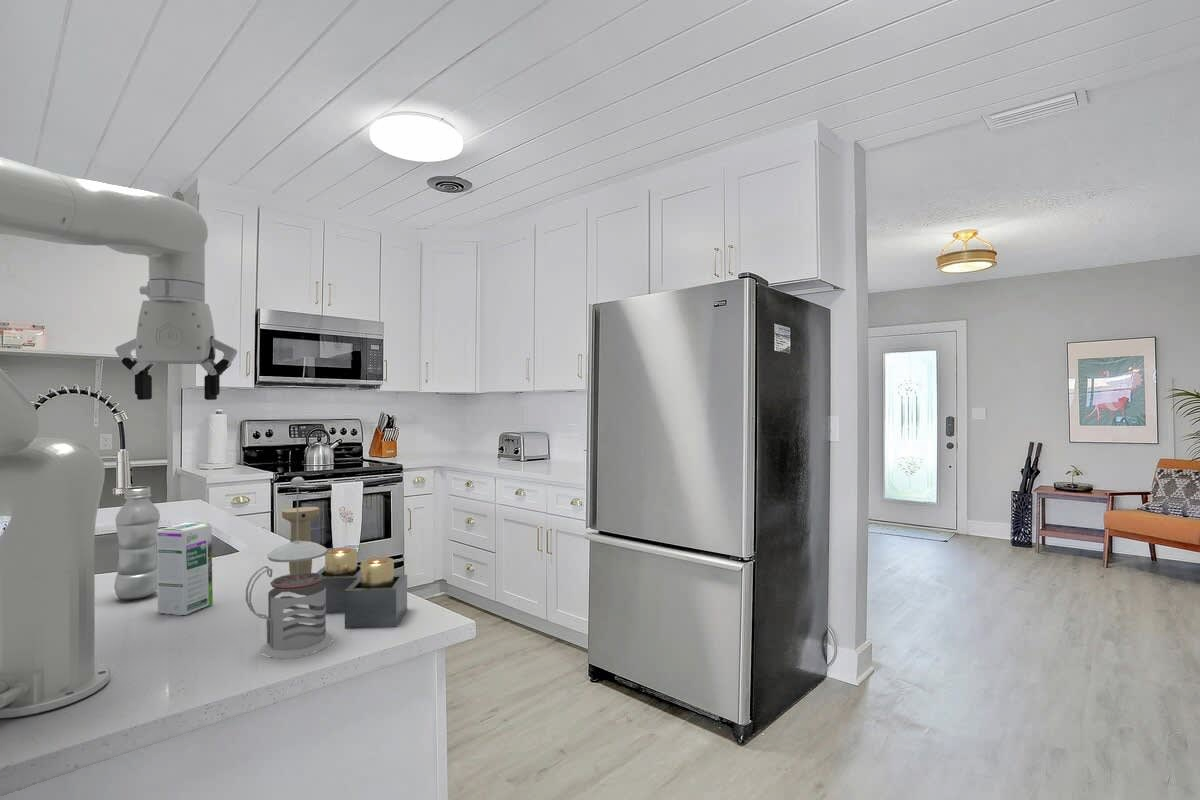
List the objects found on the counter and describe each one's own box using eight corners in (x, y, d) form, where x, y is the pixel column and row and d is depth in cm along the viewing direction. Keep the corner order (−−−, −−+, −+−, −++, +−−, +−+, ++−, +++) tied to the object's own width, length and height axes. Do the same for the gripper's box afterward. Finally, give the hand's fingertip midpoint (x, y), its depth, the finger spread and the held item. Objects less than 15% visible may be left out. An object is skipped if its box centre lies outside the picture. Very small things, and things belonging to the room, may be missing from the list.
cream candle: (351, 586, 106) (352, 553, 106) (320, 587, 105) (320, 554, 105) (360, 577, 111) (360, 546, 111) (330, 578, 111) (331, 546, 111)
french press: (343, 644, 91) (344, 477, 91) (257, 669, 83) (257, 484, 83) (319, 626, 98) (319, 471, 98) (237, 647, 90) (237, 477, 90)
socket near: (396, 626, 98) (396, 589, 98) (344, 628, 98) (344, 590, 98) (407, 609, 106) (407, 574, 106) (359, 610, 106) (359, 575, 106)
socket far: (357, 612, 105) (357, 577, 105) (309, 613, 104) (309, 578, 104) (370, 597, 113) (370, 564, 113) (325, 598, 112) (325, 565, 112)
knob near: (389, 599, 100) (389, 563, 100) (356, 600, 99) (356, 564, 99) (396, 589, 105) (397, 555, 105) (365, 589, 104) (365, 556, 104)
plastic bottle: (105, 601, 109) (105, 489, 109) (143, 590, 116) (143, 484, 116) (131, 605, 107) (131, 491, 107) (168, 593, 114) (168, 486, 114)
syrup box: (185, 616, 102) (185, 529, 102) (155, 613, 104) (155, 528, 103) (213, 605, 108) (213, 522, 108) (184, 602, 109) (185, 521, 109)
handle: (279, 587, 118) (279, 509, 118) (315, 581, 122) (315, 505, 122) (284, 593, 114) (284, 513, 114) (321, 587, 118) (321, 509, 118)
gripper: (103, 288, 94) (104, 400, 95) (227, 293, 98) (227, 400, 98) (129, 296, 102) (130, 399, 102) (244, 299, 105) (244, 399, 106)
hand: (178, 399), depth 100 cm, fingers open, 9 cm apart
